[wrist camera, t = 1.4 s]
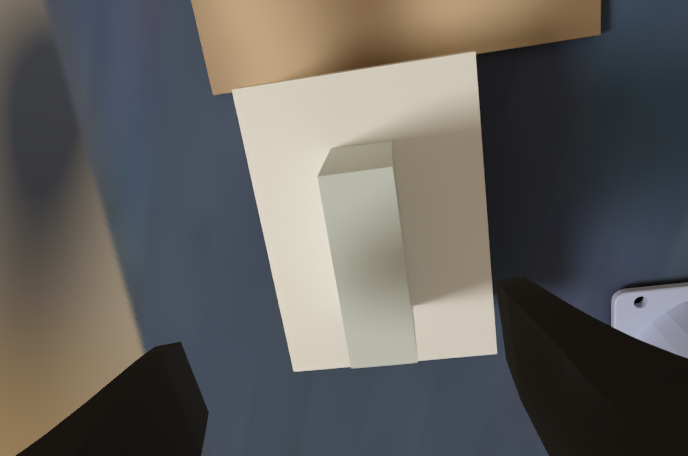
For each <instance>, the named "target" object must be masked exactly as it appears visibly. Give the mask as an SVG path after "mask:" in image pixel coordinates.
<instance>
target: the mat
mask: <svg viewBox="0 0 688 456" xmlns="http://www.w3.org/2000/svg"><path fill="white" fill-rule="evenodd" d="M191 2H192V6H193V11H194V15H195V19H196V23H197V28H198V32H199V36H200V41H201V45H202V49H203V54H204V58H205V62H206V67H207V71H208V75H209V80H210V84H211V88H212V93H213V95H217V94H224V93H230V92H232V89H235V88H237V87H244V86H250V85H257V84H263V83H269V82H276V81H282V80H288V79H295V78H301V77H308V76H314V75H320V74H327V73H333V72H339V71H346V70H352V69H359V68H365V67H371V66H378V65H384V64H390V63H397V62H403V61H410V60H416V59H422V58H429V57H435V56H441V55H448V54H454V53H461V52H467V51H476V54H480V53H487V52H493V51H499V50H506V49H512V48H519V47H525V46H531V45H538V44H544V43H551V42H557V41H563V40H570V39H576V38H583V37H589V36H596V35H601V0H191Z"/></svg>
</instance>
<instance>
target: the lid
mask: <svg viewBox="0 0 688 456" xmlns="http://www.w3.org/2000/svg"><path fill="white" fill-rule="evenodd" d="M232 93H233V98H234V102H235V107H236V111H237V116H238V120H239V125H240V129H241V134H242V139H243V143H244V148H245V152H246V157H247V161H248V166H249V171H250V175H251V180H252V184H253V189H254V193H255V198H256V202H257V207H258V212H259V216H260V221H261V225H262V230H263V234H264V239H265V243H266V248H267V253H268V257H269V262H270V266H271V271H272V275H273V280H274V284H275V289H276V294H277V298H278V303H279V307H280V312H281V316H282V321H283V325H284V330H285V335H286V339H287V344H288V348H289V353H290V357H291V362H292V366H293V371H294V372H298V371H309V370H321V369H332V368H343V367H351V369H352V368H363V367H375V366H386V365H398V364H409V363H418V361H423V360H434V359H446V358H457V357H468V356H480V355H491V354H497V346H496V331H495V317H494V303H493V289H492V275H491V261H490V247H489V233H488V219H487V205H486V191H485V177H484V163H483V149H482V134H481V120H480V106H479V92H478V78H477V64H476V51H467V52H461V53H454V54H448V55H441V56H435V57H429V58H422V59H416V60H410V61H403V62H397V63H390V64H384V65H378V66H371V67H365V68H359V69H352V70H346V71H339V72H333V73H327V74H320V75H314V76H308V77H301V78H295V79H288V80H282V81H276V82H269V83H263V84H257V85H250V86H244V87H237V88H235V89H232Z"/></svg>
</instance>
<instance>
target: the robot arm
mask: <svg viewBox="0 0 688 456" xmlns="http://www.w3.org/2000/svg"><path fill="white" fill-rule="evenodd" d="M496 287H497V295H498V302H499V309H500V317H501V324H502V331H503V339H504V346H505V353H506V360H507V363H508V366H509V369H510V372H511V374H512V377H513V380H514V383H515V386H516V388H517V391H518V394H519V397H520V399H521V401H522V403H523V405H524V407H525V409H526V411H527V413H528V415H529V417H530V419H531V421H532V423H533V425H534V427H535V429H536V431H537V433H538V435H539V437H540V439H541V441H542V443H543V445H544V447H545V449H546V451H547V453H548V455H549V456H688V282H686V283H676V284H666V285H656V286H646V287H636V288H626V289H621V290H619V291H617V292H616V293H615V294H614V295H613V297H612V301H611V326H609V325H607V324H605V323H603V322H601V321H599V320H597V319H595V318H593V317H591V316H590V315H588V314H586V313H584V312H582V311H580V310H579V309H577V308H575V307H573V306H572V305H570V304H568V303H567V302H565V301H563V300H562V299H560V298H558V297H557V296H555V295H553V294H552V293H550V292H548V291H547V290H545V289H544V288H542V287H540V286H539V285H537V284H536V283H534V282H532V281H531V280H529V279H527V278H526V277H520V278H515V279H510V280H504V281H499V282H496ZM641 296H642V297H643V300H642V301H641V302H640V303H637V304H636V303H634V301H635V299H636V298H638V297H641ZM207 419H208V410H207V407H206V405H205V402H204V400H203V397H202V394H201V392H200V389H199V387H198V384H197V382H196V379H195V377H194V374H193V372H192V369H191V367H190V364H189V362H188V359H187V357H186V354H185V352H184V349H183V347H182V344H181V342H177V343H172V344H167V345H162V346H156V347H154V348H153V349H151V350H150V351H148V352H147V353H146V354H144V355H143V356H142V357H140V358H139V359H138V360H137V361H135V362H134V363H133V364H132V365H130V366H129V367H128V368H127V369H125V370H124V371H123V372H122V373H121V374H120V375H118V376H117V377H116V378H115V379H113V380H112V381H111V382H110V383H109V384H107V385H106V386H105V387H104V388H103V389H102V390H100V391H99V392H98V393H97V394H96V395H94V396H93V397H92V398H91V399H90V400H88V401H87V402H86V403H85V404H84V405H82V406H81V407H80V408H78V409H77V410H76V411H75V412H73V413H72V414H71V415H70V416H68V417H67V418H66V419H64V420H63V421H62V422H61V423H59V424H58V425H57V426H56V427H54V428H53V429H52V430H51V431H49V432H48V433H47V434H45V435H44V436H43V437H41V438H40V439H39V440H37V441H36V442H34V443H33V444H32V445H30V446H29V447H28V448H26V449H25V450H23V451H22V452H20V453H19V454H17V455H16V456H201V452H202V447H203V442H204V437H205V431H206V425H207Z"/></svg>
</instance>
